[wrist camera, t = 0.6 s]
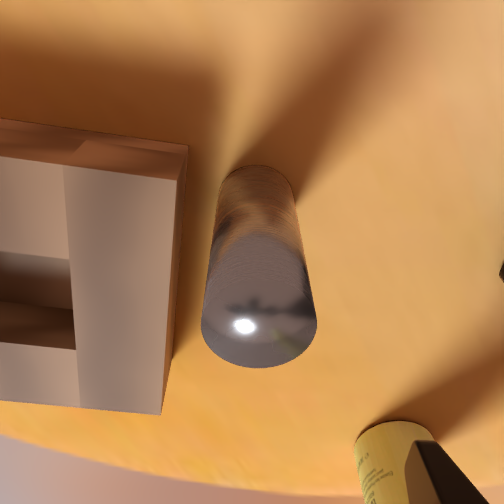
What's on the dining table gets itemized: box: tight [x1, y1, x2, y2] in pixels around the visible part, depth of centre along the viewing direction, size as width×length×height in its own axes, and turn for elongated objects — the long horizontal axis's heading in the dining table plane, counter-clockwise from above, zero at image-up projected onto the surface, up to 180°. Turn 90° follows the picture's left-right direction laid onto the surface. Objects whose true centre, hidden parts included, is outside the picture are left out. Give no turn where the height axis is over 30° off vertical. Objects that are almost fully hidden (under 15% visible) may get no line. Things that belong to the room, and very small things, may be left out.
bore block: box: [0, 118, 189, 415], centre depth 19 cm, size 12×12×4 cm
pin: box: [201, 165, 317, 368], centre depth 16 cm, size 3×3×8 cm
